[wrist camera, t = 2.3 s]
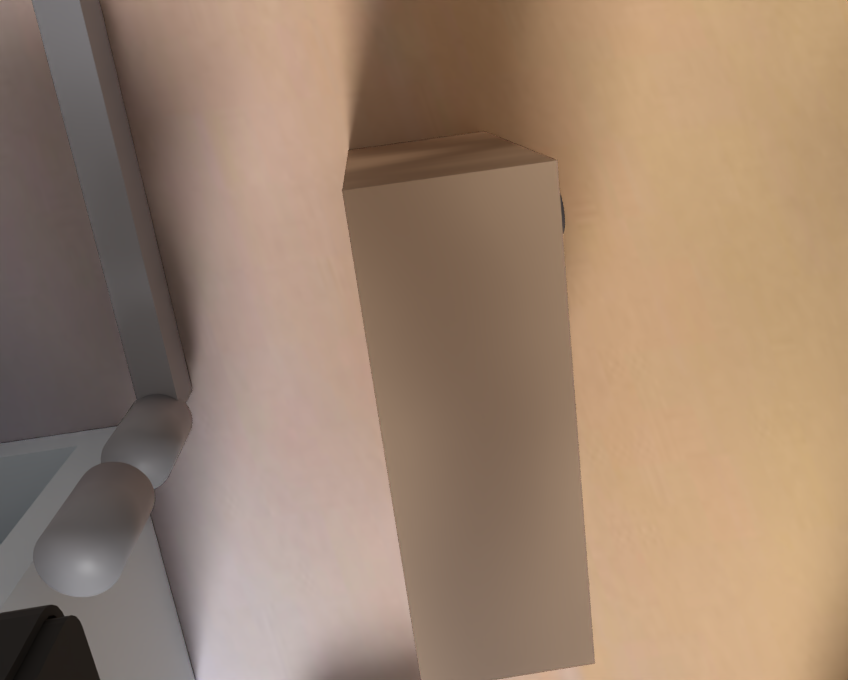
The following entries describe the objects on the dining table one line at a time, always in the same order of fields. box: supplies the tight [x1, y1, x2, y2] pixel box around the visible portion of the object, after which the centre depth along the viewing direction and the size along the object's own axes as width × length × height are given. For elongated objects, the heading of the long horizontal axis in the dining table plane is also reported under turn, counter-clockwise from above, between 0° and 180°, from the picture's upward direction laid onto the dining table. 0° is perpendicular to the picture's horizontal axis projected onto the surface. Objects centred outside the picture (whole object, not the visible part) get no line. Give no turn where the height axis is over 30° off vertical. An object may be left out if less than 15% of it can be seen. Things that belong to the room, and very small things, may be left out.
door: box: [342, 131, 595, 680], centre depth 18 cm, size 4×10×8 cm, turn 7°
